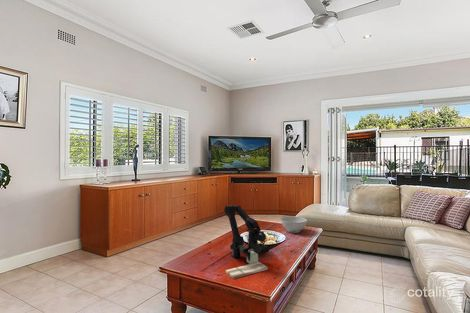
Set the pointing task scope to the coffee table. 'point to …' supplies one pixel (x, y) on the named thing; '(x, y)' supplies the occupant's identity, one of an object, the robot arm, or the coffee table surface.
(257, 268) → the birch board
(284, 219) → the decorative bowl
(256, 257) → the block
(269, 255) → the coffee table surface
